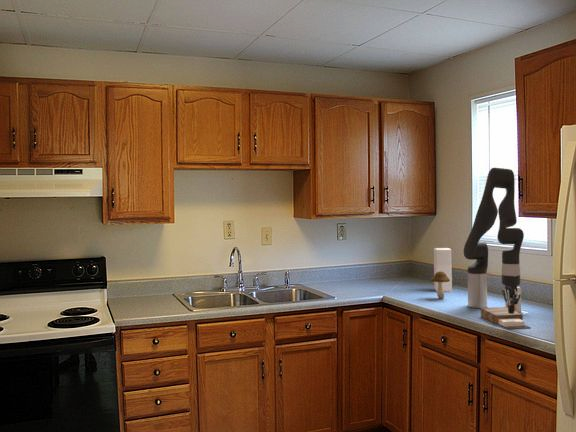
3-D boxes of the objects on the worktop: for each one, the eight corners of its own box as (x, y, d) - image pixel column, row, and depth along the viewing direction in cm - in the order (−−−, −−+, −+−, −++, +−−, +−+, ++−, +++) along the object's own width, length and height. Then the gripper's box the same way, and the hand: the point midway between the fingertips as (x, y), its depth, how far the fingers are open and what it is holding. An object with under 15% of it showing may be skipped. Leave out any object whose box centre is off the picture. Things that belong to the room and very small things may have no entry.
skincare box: (505, 311, 268) (504, 286, 268) (510, 309, 271) (510, 285, 270) (516, 313, 263) (516, 288, 263) (521, 311, 266) (521, 287, 265)
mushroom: (437, 296, 311) (437, 269, 310) (454, 299, 301) (453, 271, 301) (426, 298, 306) (426, 271, 305) (442, 301, 296) (442, 273, 296)
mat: (498, 324, 242) (498, 323, 241) (520, 323, 242) (520, 322, 242) (507, 329, 233) (507, 328, 233) (530, 328, 234) (530, 327, 234)
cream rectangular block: (498, 323, 242) (498, 318, 242) (518, 322, 242) (518, 318, 242) (503, 326, 236) (503, 322, 236) (524, 326, 236) (524, 321, 236)
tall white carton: (436, 291, 324) (436, 249, 323) (434, 289, 333) (433, 248, 332) (452, 291, 323) (451, 249, 322) (449, 289, 332) (448, 247, 331)
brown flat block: (481, 316, 258) (480, 307, 258) (505, 315, 259) (505, 307, 259) (496, 324, 242) (496, 315, 242) (522, 323, 243) (522, 314, 243)
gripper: (495, 272, 246) (496, 310, 247) (509, 276, 233) (510, 317, 233) (512, 271, 247) (512, 309, 247) (526, 275, 233) (527, 316, 234)
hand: (511, 313), depth 240 cm, fingers closed
